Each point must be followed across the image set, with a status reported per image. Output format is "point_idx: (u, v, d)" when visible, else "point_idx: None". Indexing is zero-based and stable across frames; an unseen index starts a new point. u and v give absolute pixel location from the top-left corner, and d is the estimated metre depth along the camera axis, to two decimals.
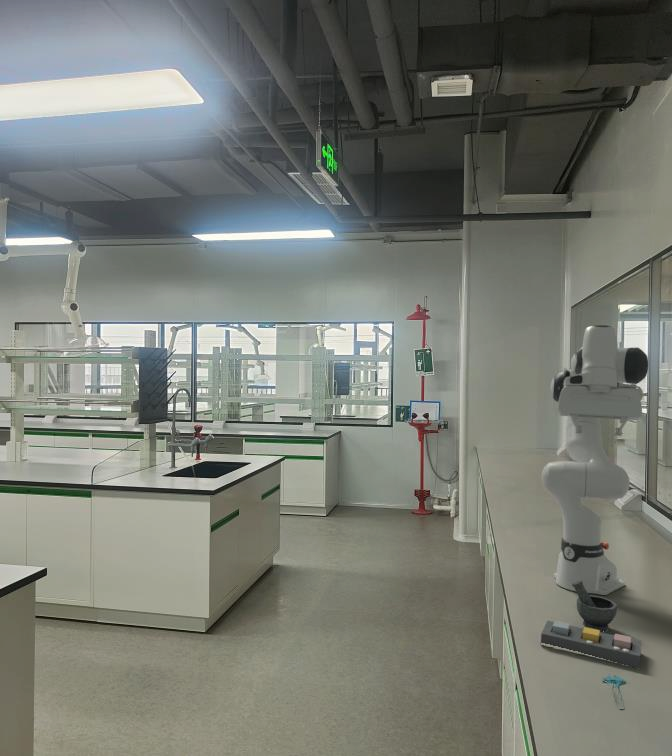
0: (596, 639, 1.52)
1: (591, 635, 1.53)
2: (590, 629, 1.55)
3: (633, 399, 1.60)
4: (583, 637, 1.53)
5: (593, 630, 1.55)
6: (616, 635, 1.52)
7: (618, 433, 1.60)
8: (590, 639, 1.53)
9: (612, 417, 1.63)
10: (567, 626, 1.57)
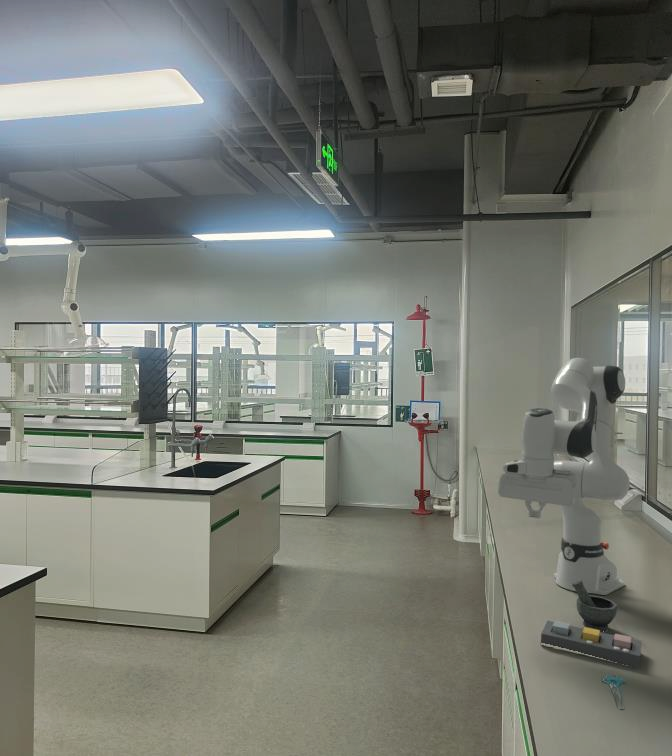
0: (596, 639, 1.52)
1: (591, 635, 1.53)
2: (590, 629, 1.55)
3: (565, 488, 1.69)
4: (583, 637, 1.53)
5: (593, 630, 1.55)
6: (616, 635, 1.52)
7: (536, 516, 1.73)
8: (590, 639, 1.53)
9: None
10: (567, 626, 1.57)
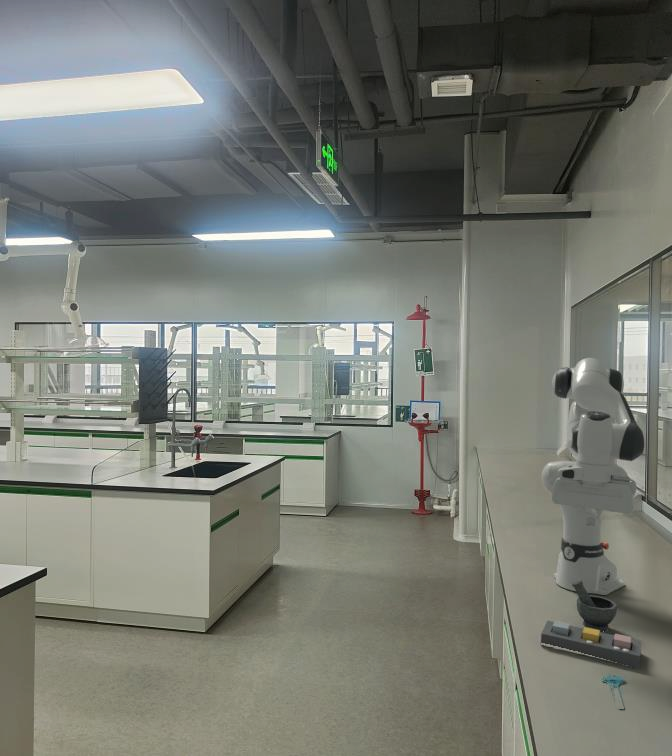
0: (596, 639, 1.52)
1: (591, 635, 1.53)
2: (590, 629, 1.55)
3: (625, 495, 1.62)
4: (583, 637, 1.53)
5: (593, 630, 1.55)
6: (616, 635, 1.52)
7: (593, 524, 1.66)
8: (590, 639, 1.53)
9: None
10: (567, 626, 1.57)
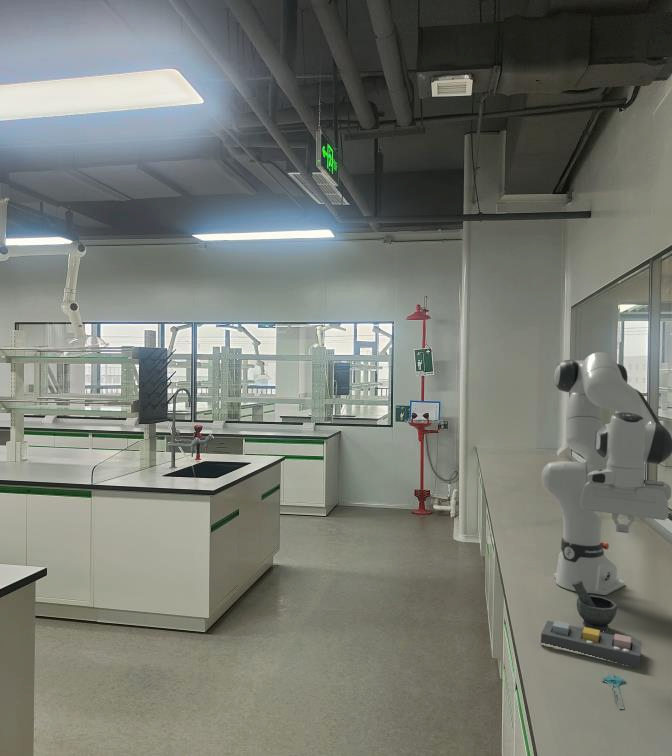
0: (596, 639, 1.52)
1: (591, 635, 1.53)
2: (590, 629, 1.55)
3: (660, 500, 1.54)
4: (583, 637, 1.53)
5: (593, 630, 1.55)
6: (616, 635, 1.52)
7: (625, 531, 1.58)
8: (590, 639, 1.53)
9: None
10: (567, 626, 1.57)
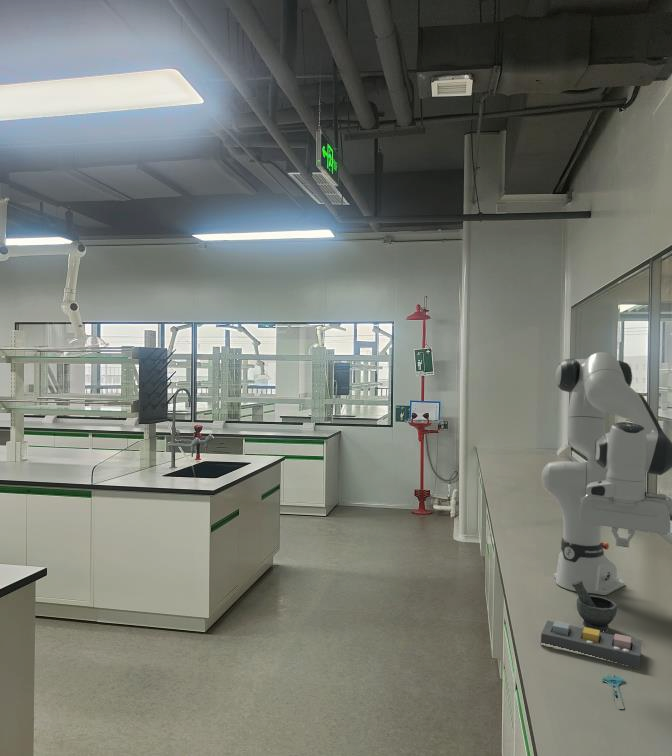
0: (596, 639, 1.52)
1: (591, 635, 1.53)
2: (590, 629, 1.55)
3: (661, 514, 1.48)
4: (583, 637, 1.53)
5: (593, 630, 1.55)
6: (616, 635, 1.52)
7: (625, 546, 1.52)
8: (590, 639, 1.53)
9: None
10: (567, 626, 1.57)
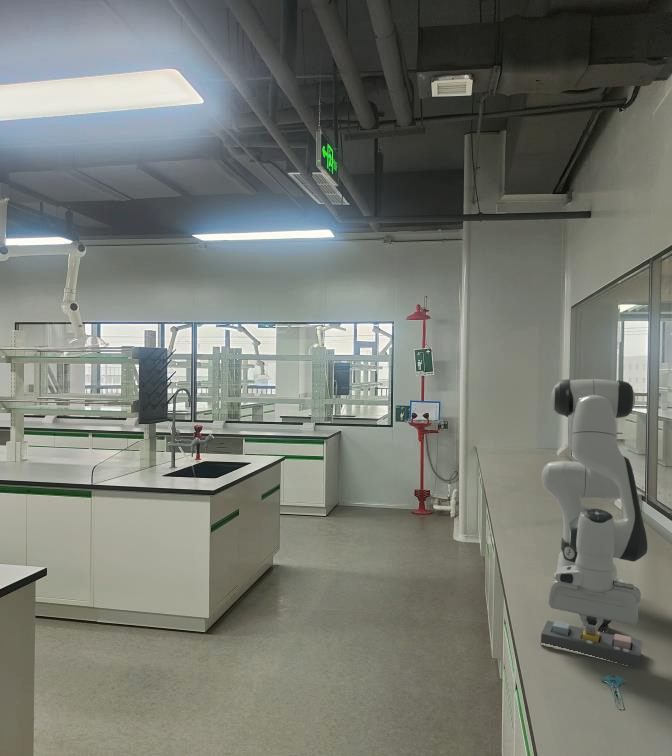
0: (596, 641, 1.52)
1: (591, 637, 1.53)
2: None
3: (629, 605, 1.48)
4: None
5: None
6: (616, 635, 1.52)
7: (593, 633, 1.53)
8: None
9: None
10: (567, 626, 1.57)
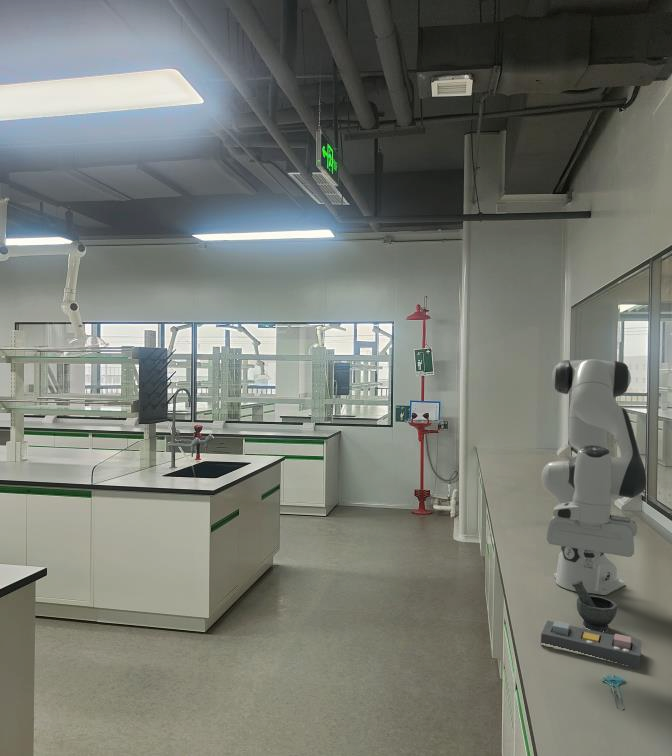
0: None
1: (591, 640, 1.53)
2: (590, 634, 1.55)
3: (625, 537, 1.51)
4: None
5: (593, 635, 1.55)
6: (616, 635, 1.52)
7: (591, 567, 1.55)
8: None
9: None
10: (567, 626, 1.57)
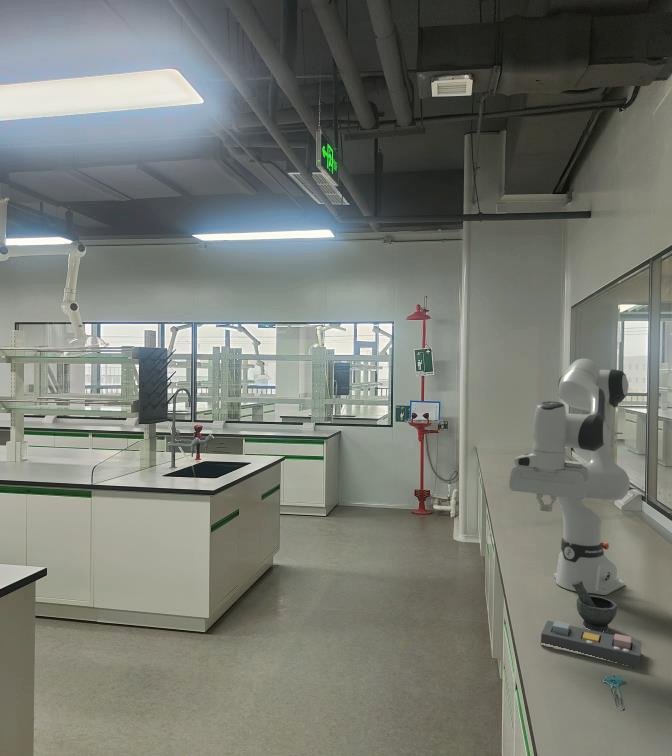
0: None
1: (591, 640, 1.53)
2: (590, 634, 1.55)
3: (577, 481, 1.68)
4: None
5: (593, 635, 1.55)
6: (616, 635, 1.52)
7: (548, 510, 1.72)
8: None
9: None
10: (567, 626, 1.57)
